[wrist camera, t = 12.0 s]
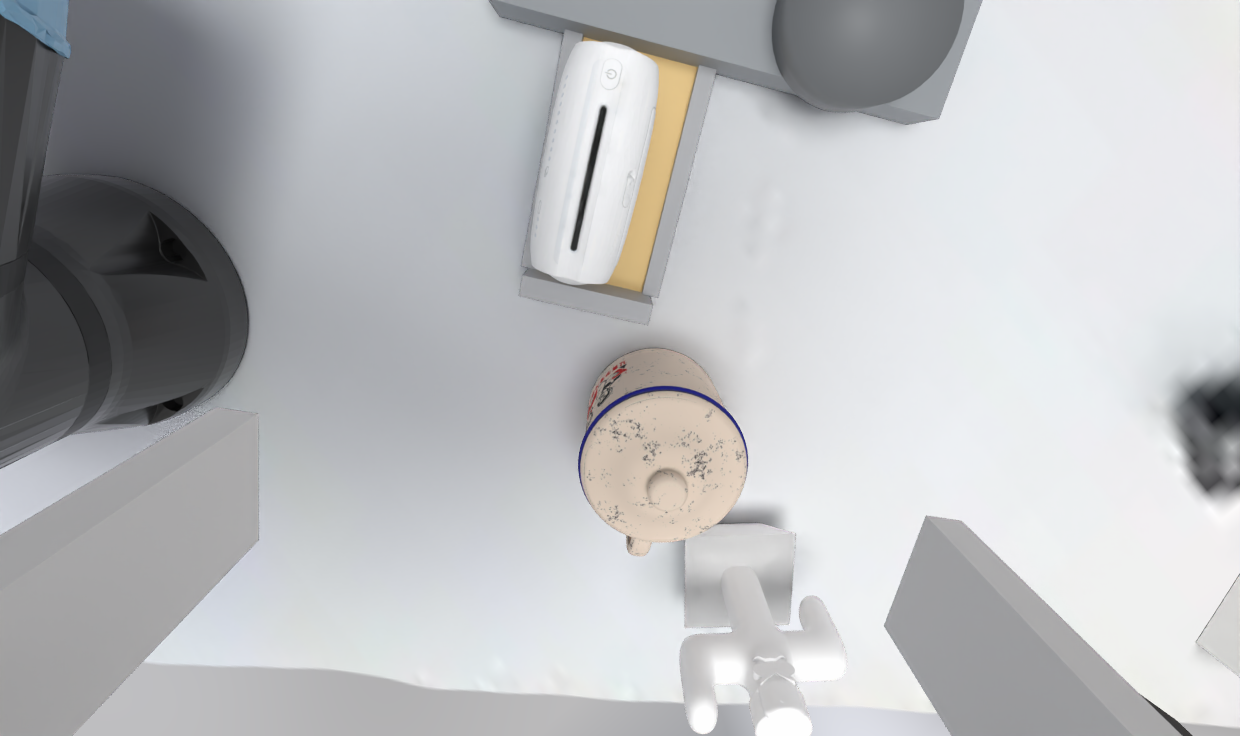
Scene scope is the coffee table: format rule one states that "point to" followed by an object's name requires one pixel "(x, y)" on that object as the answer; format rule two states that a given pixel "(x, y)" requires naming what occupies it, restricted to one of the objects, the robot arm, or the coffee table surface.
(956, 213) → the coffee table surface
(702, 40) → the deck
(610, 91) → the photo printer
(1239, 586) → the box
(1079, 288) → the coffee table surface
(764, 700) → the figurine
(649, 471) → the teacup with lid
